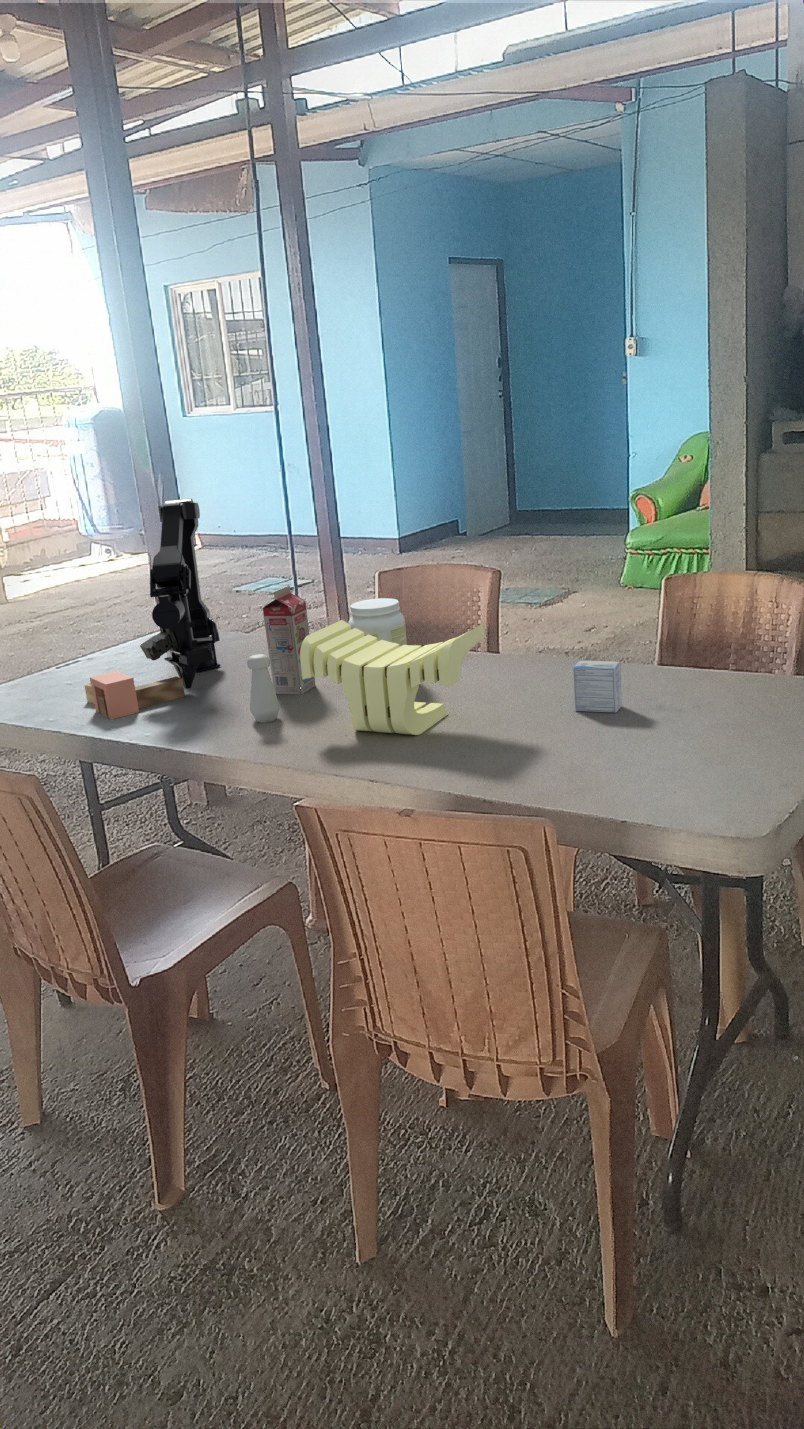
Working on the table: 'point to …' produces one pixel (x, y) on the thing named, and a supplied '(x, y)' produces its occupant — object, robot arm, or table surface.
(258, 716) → the salt shaker
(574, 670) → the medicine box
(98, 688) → the arch block
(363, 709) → the slatted curved stool
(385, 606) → the supplement tub
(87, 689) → the wooden cube
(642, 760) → the table surface
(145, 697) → the wooden plank
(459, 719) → the table surface
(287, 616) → the juice carton
